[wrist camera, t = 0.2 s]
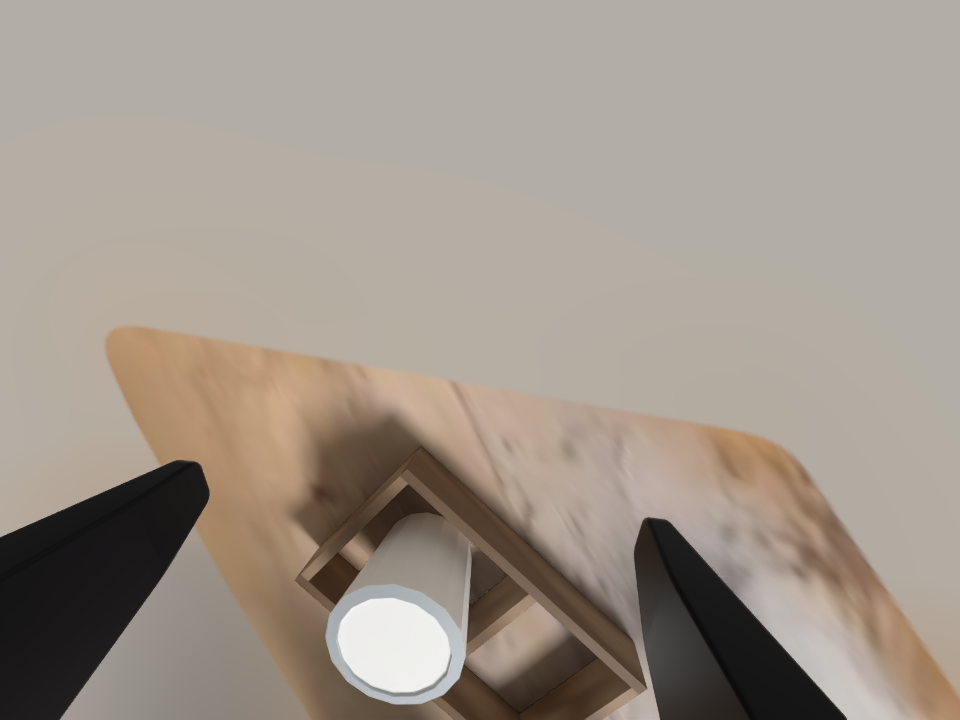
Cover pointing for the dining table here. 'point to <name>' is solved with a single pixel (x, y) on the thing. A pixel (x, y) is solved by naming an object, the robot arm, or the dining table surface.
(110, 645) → the robot arm
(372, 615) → the white cup
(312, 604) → the dining table surface
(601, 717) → the walnut caddy
